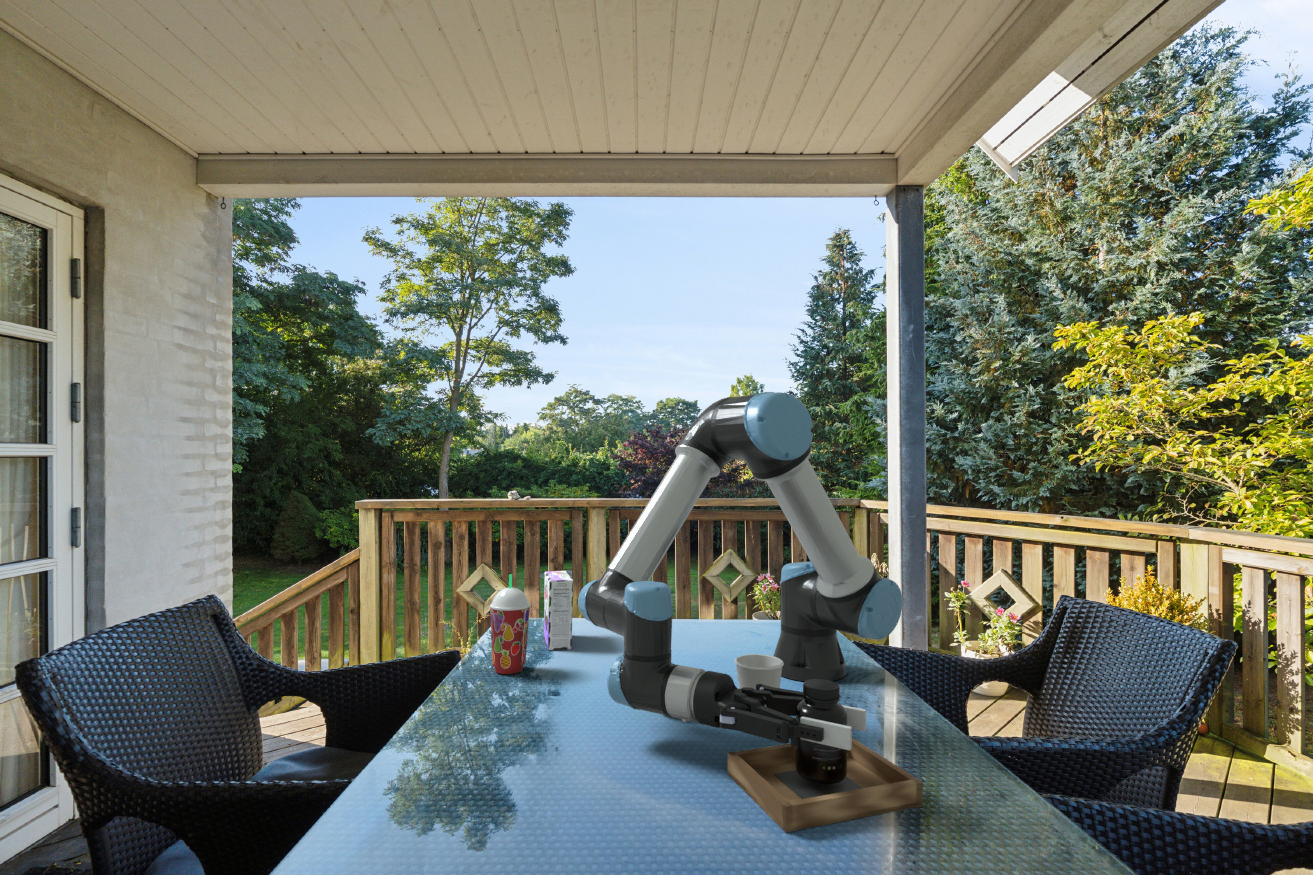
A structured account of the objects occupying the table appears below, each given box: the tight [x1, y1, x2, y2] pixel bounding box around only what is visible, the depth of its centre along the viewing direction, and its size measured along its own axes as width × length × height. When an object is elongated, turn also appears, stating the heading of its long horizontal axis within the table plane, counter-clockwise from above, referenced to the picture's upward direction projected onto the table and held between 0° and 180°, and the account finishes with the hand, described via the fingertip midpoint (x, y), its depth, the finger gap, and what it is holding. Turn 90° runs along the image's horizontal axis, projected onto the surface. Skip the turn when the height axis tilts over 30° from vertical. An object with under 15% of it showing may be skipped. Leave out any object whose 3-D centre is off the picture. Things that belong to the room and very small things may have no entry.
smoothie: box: [489, 573, 531, 675], centre depth 143 cm, size 8×8×20 cm
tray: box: [727, 737, 924, 834], centre depth 91 cm, size 20×16×3 cm
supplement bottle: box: [795, 679, 847, 784], centre depth 91 cm, size 7×7×12 cm
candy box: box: [543, 570, 574, 651], centre depth 165 cm, size 14×6×16 cm, turn 14°
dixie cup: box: [734, 653, 784, 707], centre depth 116 cm, size 8×8×10 cm
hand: (858, 729), depth 89 cm, fingers closed on supplement bottle, 6 cm apart
